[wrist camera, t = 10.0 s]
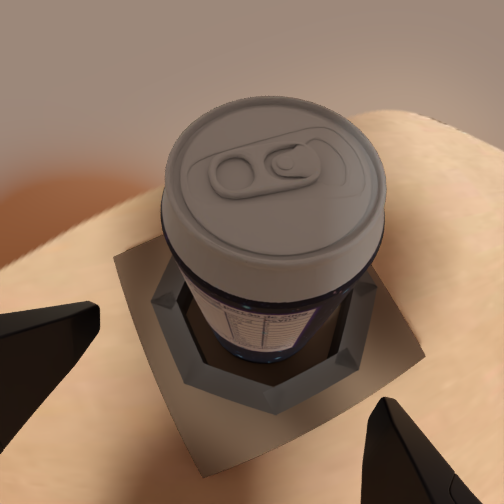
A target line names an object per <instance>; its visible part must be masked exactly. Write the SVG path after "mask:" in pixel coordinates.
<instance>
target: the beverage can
mask: <svg viewBox="0 0 504 504" xmlns="http://www.w3.org/2000/svg"><path fill="white" fill-rule="evenodd" d="M386 190H387V189H386V176H385V172H384V168H383V164H382V162H381V160H380V157H379V155H378V153H377V151H376V150H375V148H374V147H373V145H372V144H371V142H370V141H369V139H368V138H367V137H366V136H365V135H364V134H363V133H362V132H361V131H360V130H359V129H358V128H357V127H356V126H355V125H353V124H352V123H351V122H350V121H349V120H347V119H346V118H344V117H342V116H341V115H339V114H337V113H336V112H334V111H332V110H330V109H328V108H326V107H323V106H321V105H318V104H315V103H313V102H309V101H305V100H301V99H297V98H290V97H283V96H260V97H250V98H244V99H240V100H236V101H232V102H229V103H226V104H223V105H221V106H219V107H216V108H214V109H213V110H210V111H209V112H207V113H205V114H204V115H202V116H201V117H199V118H198V119H197V120H195V121H194V122H193V123H191V124H190V125H189V126H188V127H187V128H186V129H185V130H184V131H183V132H182V134H181V135H180V136H179V138H178V139H177V141H176V142H175V144H174V146H173V148H172V150H171V152H170V154H169V157H168V161H167V165H166V170H165V188H164V191H163V195H162V201H161V224H162V229H163V233H164V237H165V240H166V242H167V245H168V247H169V249H170V251H171V253H172V255H173V257H174V259H175V261H176V263H177V265H178V267H179V269H180V271H181V273H182V275H183V277H184V279H185V281H186V283H187V285H188V287H189V288H190V290H191V292H192V294H193V296H194V298H195V300H196V302H197V304H198V306H199V307H200V309H201V311H202V313H203V315H204V317H205V319H206V320H207V322H208V324H209V326H210V328H211V330H212V331H213V333H214V335H215V337H216V338H217V340H218V341H219V343H220V344H221V345H222V346H223V347H224V348H225V349H226V350H227V351H228V352H229V353H231V354H232V355H234V356H236V357H237V358H239V359H242V360H244V361H247V362H251V363H258V364H269V363H276V362H279V361H283V360H285V359H287V358H289V357H291V356H293V355H295V354H296V353H297V352H299V351H300V350H301V349H302V348H303V347H304V346H305V345H306V344H307V342H308V341H309V340H310V339H311V338H312V337H313V336H314V334H315V333H316V332H317V331H318V330H319V328H320V327H321V326H322V325H323V324H324V323H325V321H326V320H327V319H328V318H329V317H330V315H331V314H332V313H333V312H334V311H335V309H336V308H337V307H338V306H339V304H340V303H341V302H342V301H343V299H344V298H345V297H346V296H347V294H348V293H349V292H350V291H351V289H352V288H353V287H354V286H355V284H356V283H357V282H358V280H359V279H360V278H361V277H362V275H363V274H364V273H365V271H366V270H367V269H368V267H369V266H370V265H371V263H372V262H373V260H374V258H375V256H376V254H377V252H378V250H379V247H380V245H381V242H382V238H383V233H384V225H385V213H384V204H385V199H386Z"/></svg>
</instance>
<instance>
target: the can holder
mask: <svg viewBox="0 0 504 504" xmlns="http://www.w3.org/2000/svg"><path fill="white" fill-rule="evenodd" d="M113 259H114V262H115V266H116V269H117V272H118V276H119V279H120V282H121V286H122V289H123V292H124V295H125V298H126V301H127V304H128V307H129V310H130V313H131V316H132V319H133V322H134V325H135V328H136V330H137V333H138V336H139V339H140V341H141V344H142V347H143V349H144V352H145V355H146V357H147V360H148V362H149V365H150V367H151V370H152V372H153V375H154V377H155V379H156V382H157V384H158V387H159V389H160V391H161V394H162V396H163V398H164V400H165V403H166V405H167V407H168V409H169V412H170V414H171V416H172V418H173V420H174V422H175V425H176V427H177V429H178V431H179V433H180V435H181V437H182V439H183V441H184V443H185V445H186V447H187V449H188V451H189V453H190V455H191V457H192V459H193V461H194V463H195V464H196V466H197V468H198V470H199V472H200V474H201V476H202V477H203V478H205V477H208V476H211V475H213V474H216V473H219V472H221V471H224V470H227V469H229V468H232V467H234V466H237V465H239V464H241V463H244V462H246V461H249V460H251V459H253V458H255V457H258V456H260V455H262V454H264V453H267V452H269V451H271V450H273V449H275V448H277V447H279V446H281V445H284V444H286V443H288V442H290V441H292V440H294V439H296V438H298V437H300V436H301V435H303V434H305V433H307V432H309V431H311V430H313V429H315V428H317V427H318V426H320V425H322V424H324V423H326V422H327V421H329V420H331V419H333V418H334V417H336V416H338V415H340V414H341V413H343V412H345V411H346V410H348V409H350V408H351V407H353V406H355V405H356V404H358V403H359V402H361V401H363V400H364V399H366V398H367V397H369V396H370V395H372V394H373V393H375V392H377V391H378V390H380V389H381V388H383V387H384V386H385V385H387V384H388V383H390V382H391V381H393V380H394V379H396V378H397V377H398V376H400V375H401V374H403V373H404V372H405V371H407V370H408V369H410V368H411V367H412V366H414V365H415V364H416V363H418V362H419V361H420V360H422V359H423V358H424V357H426V356H425V354H424V352H423V350H422V348H421V347H420V345H419V343H418V341H417V340H416V338H415V336H414V334H413V333H412V331H411V329H410V327H409V326H408V324H407V322H406V321H405V319H404V317H403V315H402V314H401V312H400V310H399V309H398V307H397V305H396V304H395V302H394V300H393V299H392V297H391V296H390V294H389V292H388V291H387V289H386V287H385V286H384V284H383V283H382V281H381V279H380V278H379V276H378V275H377V273H376V272H375V270H374V269H373V267H372V265H370V266H369V267H368V269H367V270H366V271H365V273H364V274H363V275H362V277H361V278H360V279H359V280H358V282H357V283H356V284H355V286H354V287H353V288H352V289H351V291H350V292H349V293H348V294H347V296H346V297H345V298H344V299H343V301H342V302H341V303H340V304H339V306H338V307H337V308H336V309H335V311H334V312H333V313H332V314H331V315H330V317H329V318H328V319H327V320H326V321H325V323H324V324H323V325H322V326H321V327H320V328H319V330H318V331H317V332H316V333H315V334H314V336H313V337H312V338H311V339H310V340H309V341H308V342H307V344H306V345H305V346H304V347H303V348H302V349H301V350H300V351H299V352H297V353H296V354H295V355H293V356H291V357H289V358H287V359H285V360H283V361H279V362H276V363H269V364H258V363H251V362H247V361H244V360H242V359H239V358H237V357H236V356H234V355H232V354H231V353H229V352H228V351H227V350H226V349H225V348H224V347H223V346H222V345H221V344H220V343H219V341H218V340H217V338H216V337H215V335H214V333H213V331H212V330H211V328H210V326H209V324H208V322H207V320H206V319H205V317H204V315H203V313H202V311H201V309H200V307H199V306H198V304H197V302H196V300H195V298H194V296H193V294H192V292H191V290H190V288H189V287H188V285H187V283H186V281H185V279H184V277H183V275H182V273H181V271H180V269H179V267H178V265H177V263H176V261H175V259H174V257H173V255H172V253H171V251H170V249H169V247H168V245H167V242H166V240H165V237H164V235H161V236H159V237H157V238H154V239H152V240H150V241H148V242H145V243H143V244H141V245H139V246H136V247H134V248H132V249H130V250H128V251H125V252H123V253H121V254H119V255H117V256H115V257H113Z"/></svg>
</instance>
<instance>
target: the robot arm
mask: <svg viewBox="0 0 504 504" xmlns="http://www.w3.org/2000/svg"><path fill="white" fill-rule="evenodd" d="M99 330H100V308H99V306H98V305H97V304H95V303H93V302H90V301H84V302H78V303H71V304H65V305H59V306H52V307H46V308H39V309H32V310H26V311H19V312H12V313H5V314H0V454H1V453H2V452H3V450H4V449H5V448H6V446H7V445H8V444H9V443H10V441H11V440H12V439H13V438H14V436H15V435H16V434H17V433H18V431H19V430H20V429H21V428H22V427H23V425H24V424H25V423H26V422H27V421H28V419H29V418H30V417H31V416H32V415H33V413H34V412H35V411H36V410H37V409H38V407H39V406H40V405H41V404H42V403H43V402H44V400H45V399H46V398H47V397H48V396H49V395H50V393H51V392H52V391H53V390H54V389H55V388H56V387H57V385H58V384H59V383H60V382H61V381H62V380H63V379H64V377H65V376H66V375H67V374H68V373H69V372H70V371H71V369H72V368H73V367H74V366H75V365H76V363H77V362H78V361H79V359H80V358H81V356H82V355H83V354H84V352H85V351H86V349H87V348H88V347H89V345H90V344H91V342H92V341H93V340H94V338H95V337H96V336H97V334H98V332H99ZM454 473H455V472H454V470H453V469H452V468H451V467H450V465H449V464H448V463H447V462H446V460H445V459H444V458H443V457H442V455H441V454H440V453H439V452H438V451H437V449H436V448H435V447H434V446H433V444H432V443H431V442H430V441H429V440H428V438H427V437H426V436H425V435H424V433H423V432H422V431H421V430H420V429H419V427H418V426H417V425H416V424H415V423H414V421H413V420H412V419H411V418H410V416H409V415H408V414H407V413H406V412H405V410H404V409H403V408H402V407H401V406H400V404H399V403H398V402H397V401H396V400H395V399H393V398H388V397H382V398H381V399H380V400H379V402H378V403H377V405H376V407H375V408H374V410H373V411H372V413H371V415H370V417H369V419H368V424H367V433H366V441H365V448H364V455H363V463H362V485H361V504H482V503H481V502H480V500H479V499H478V498H477V497H476V496H475V495H474V494H473V493H472V492H471V491H470V490H469V488H468V487H467V486H466V485H465V484H464V483H463V481H462V480H461V479H460V478H459V476H458V475H457V474H454Z"/></svg>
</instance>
